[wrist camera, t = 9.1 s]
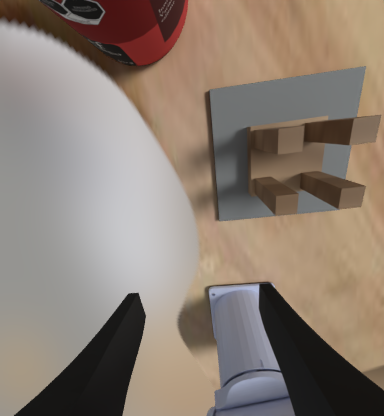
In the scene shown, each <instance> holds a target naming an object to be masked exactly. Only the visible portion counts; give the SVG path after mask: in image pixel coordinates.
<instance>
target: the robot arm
mask: <svg viewBox="0 0 384 416" xmlns="http://www.w3.org/2000/svg"><path fill="white" fill-rule="evenodd" d="M212 293H214V294H212ZM209 298H210V307H211V315H212V323H213V332H214V338H215V339H216V340H217V350H218V362H219V374H220V386H221V389H219V390H216V391H215V407H211V408H210V410H209V411H208V413H207V416H384V390H383V389H381V388H380V387H379V386H378V385H376V384H375V383H374V382H372V381H371V380H370V379H369V378H367V377H366V376H365V375H364V374H362V373H361V372H360V371H359V370H357V369H356V368H355V367H354V366H352V365H351V364H350V363H349V362H348V361H347V360H345V359H344V358H343V357H342V356H341V355H340V354H338V353H337V352H336V351H335V350H334V349H333V348H332V347H331V346H329V345H328V344H327V343H326V342H325V341H324V340H323V339H322V338H321V337H320V336H319V335H318V334H317V333H316V332H315V331H314V330H313V329H312V328H311V327H310V326H309V325H308V324H307V323H306V322H305V321H304V320H303V319H302V318H301V317H300V316H299V315H298V314H297V313H296V312H295V311H294V310H293V309H292V307H291V306H290V305H289V304H288V303H287V302H286V301H285V300H284V298H283V297H282V296H281V295H280V294H279V293H278V291H277V290H276V289H275V286H274V284H273V283H258V284H243V285H229V286H214V287H210V288H209ZM145 318H146V315H145V312H144V309H143V306H142V303H141V299H140V296H139V293H130V294H128V295H127V296H126V298H125V299H124V300H123V301H122V303H121V304H120V305H119V307H118V308H117V309H116V311H115V312H114V313H113V314H112V316H111V317H110V318H109V320H108V321H107V322H106V323H105V325H104V326H103V327H102V328H101V330H100V331H99V332H98V333H97V334H96V336H95V337H94V338H93V339H92V340H91V341H90V343H89V344H88V345H87V346H86V347H85V348H84V349H83V350H82V352H81V353H80V354H79V355H78V356H77V357H76V358H75V359H74V360H73V361H72V362H71V363H70V365H68V367H66V368H65V369H64V370H63V371H62V372H61V373H60V375H58V376H57V377H56V378H55V379H54V380H53V381H52V382H51V383H50V384H49V385H48V386H47V387H46V388H45V389H44V390H43V391H41V393H40V394H39V395H37V396H36V397H35V398H34V399H33V400H31V401H30V402H29V403H28V404H27V405H26V406H25V407H24V408H22V409H21V410H20V411H19V412H18V413H16V415H14V416H122V414H123V410H124V405H125V399H126V395H127V390H128V386H129V382H130V379H131V375H132V371H133V368H134V364H135V361H136V357H137V354H138V350H139V347H140V343H141V339H142V336H143V330H144V325H145Z"/></svg>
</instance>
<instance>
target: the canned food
mask: <svg viewBox="0 0 384 416" xmlns="http://www.w3.org/2000/svg"><path fill="white" fill-rule="evenodd" d="M39 1H40V2H41V3H43V4H44V5H45V6H46V7H48V8H49V9H50V10H51V11H53V12H54V13H55V14H56V15H57V16H59V17H60V18H61V19H62V20H64V21H65V22H66V23H67V24H68V25H70V26H71V27H72V28H73V29H75V30H76V31H77V32H78V33H79V34H81V35H82V36H83V37H84V38H86V39H87V40H88V41H89V42H91V43H92V44H93V45H94V46H95V47H97V48H98V49H99V50H100V51H102V52H103V53H104V54H105V55H107V56H108V57H109V58H111V59H113V60H115V61H117V62H119V63H122V64H126V65H134V66H141V65H147V64H151V63H153V62H156V61H158V60H159V59H161V58H162V57H163V56H165V55H166V54H167V53H168V52H169V51H170V50H171V49H172V47H173V46H174V44H175V43H176V41H177V39H178V38H179V36H180V33H181V31H182V28H183V26H184V23H185V19H186V14H187V9H188V0H39Z"/></svg>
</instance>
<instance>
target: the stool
mask: <svg viewBox="0 0 384 416" xmlns="http://www.w3.org/2000/svg"><path fill="white" fill-rule="evenodd" d="M380 119H381V115H375V116H364V117H354V118H343V119H333V120H328V116H321V117H314V118H307V119H300V120H293V121H286V122H279V123H272V124H265V125H258V126H251V127H247V153H248V193H249V194H250V195H251V197H253V196H258V197H259V198H260V199H261V201H262V202H263V203H264V204H265V205H266V206H267V207H268V208H269V209H270V210H271V211H272V213H273V214H274V215H275V216H279V215H288V214H297V209H298V197H299V193H297V192H298V191H306V192H308V193H310V194H311V195H313V196H315V197H317V198H319V199H321V200H322V201H324V202H326V203H328V204H330V205H331V206H333V207H335V208H337V209H347V208H356V207H361V205H362V201H363V196H364V192H365V187H366V186H364V185H361V184H358V183H354V182H351V181H348V180H345V179H342V178H339V177H336V176H333V175H330V174H327V173H323V172H322V164H323V156H324V148H325V143H327V144H339V145H357V144H364V143H372V142H376V137H377V132H378V128H379V123H380Z"/></svg>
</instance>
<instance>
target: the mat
mask: <svg viewBox="0 0 384 416" xmlns="http://www.w3.org/2000/svg"><path fill="white" fill-rule="evenodd" d="M365 69H366V66H364V67H357V68H351V69H344V70H337V71H331V72H324V73H317V74H311V75H304V76H297V77H291V78H284V79H277V80H271V81H264V82H257V83H251V84H244V85H237V86H231V87H224V88H217V89H211V90H209V93H210V106H211V119H212V132H213V145H214V158H215V171H216V184H217V197H218V210H219V221H228V220H238V219H249V218H259V217H270V216H275V215H274V214H273V213H272V211H271V210H270V209H269V208H268V207H267V206H266V205H265V204H264V203H263V202H262V201H261V199H260V198H259V197H258V196H253V197H251V195H250V194H249V193H248V153H247V127H251V126H258V125H265V124H272V123H279V122H286V121H293V120H300V119H307V118H314V117H321V116H328V120H333V119H343V118H354V117H357V113H358V107H359V102H360V96H361V91H362V85H363V80H364V75H365ZM350 151H351V145H339V144H327V143H325V148H324V156H323V164H322V172H323V173H327V174H330V175H333V176H336V177H339V178H342V179H345V178H346V172H347V167H348V161H349V156H350ZM297 193H299V197H298V209H297V214H302V213H312V212H323V211H333V210H340V209H337V208H335V207H333V206H331V205H330V204H328V203H326V202H324V201H322V200H321V199H319V198H317V197H315V196H313V195H311V194H310V193H308V192H306V191H298V192H297ZM288 215H291V214H288ZM279 216H281V215H279Z"/></svg>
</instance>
